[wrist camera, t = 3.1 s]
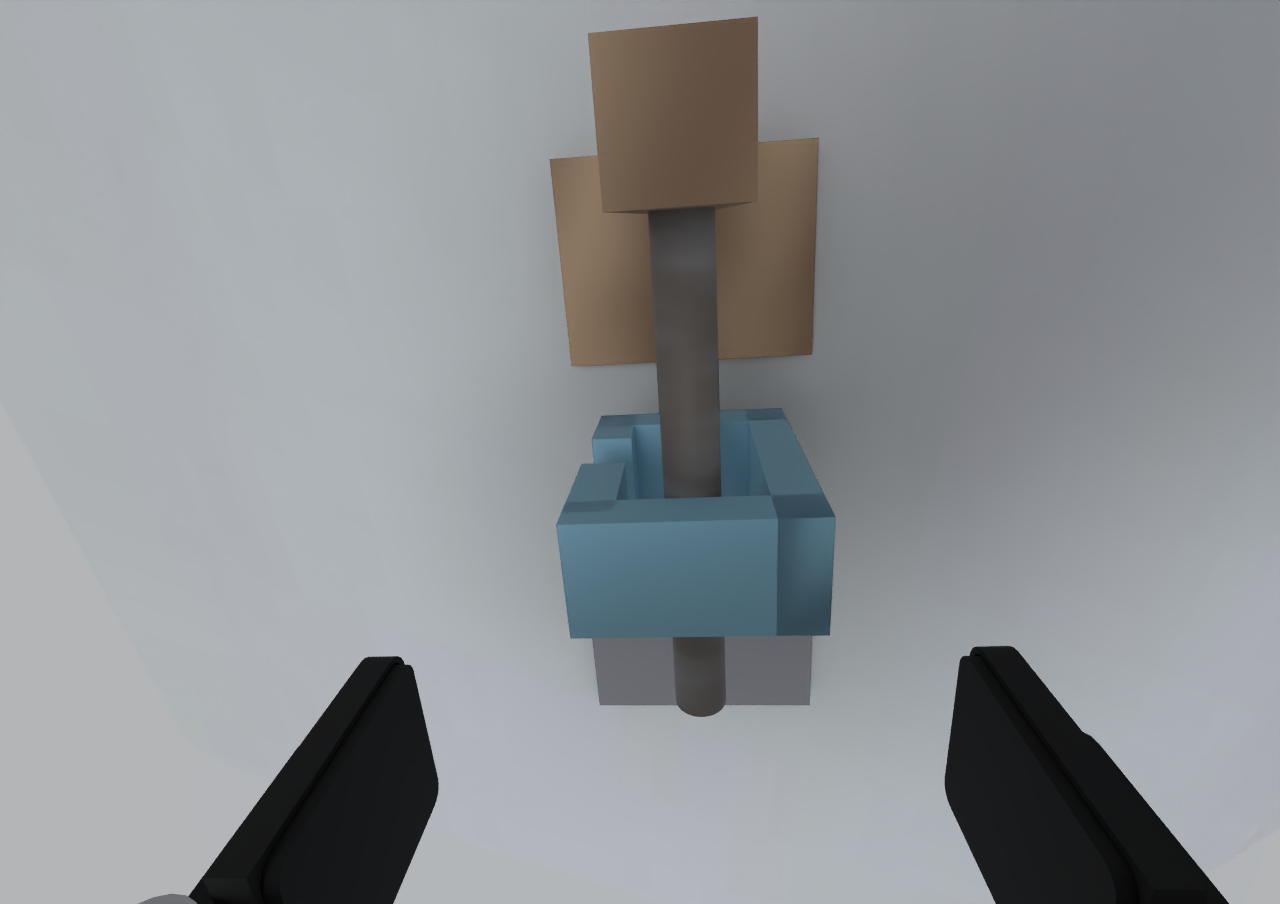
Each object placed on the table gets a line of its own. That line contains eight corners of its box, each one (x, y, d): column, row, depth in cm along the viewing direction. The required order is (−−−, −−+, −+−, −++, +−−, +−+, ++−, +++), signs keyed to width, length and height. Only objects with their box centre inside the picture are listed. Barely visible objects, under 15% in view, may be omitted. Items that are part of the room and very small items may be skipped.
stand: (812, 135, 24) (1043, -11, 8) (802, 497, 29) (933, 816, 14) (555, 156, 25) (335, 57, 9) (591, 503, 30) (488, 809, 15)
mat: (812, 544, 30) (815, 552, 29) (806, 694, 33) (809, 704, 32) (585, 549, 31) (583, 557, 30) (601, 694, 34) (599, 705, 33)
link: (781, 408, 21) (835, 517, 13) (780, 490, 22) (829, 635, 14) (601, 415, 21) (556, 524, 14) (609, 496, 22) (570, 638, 15)
